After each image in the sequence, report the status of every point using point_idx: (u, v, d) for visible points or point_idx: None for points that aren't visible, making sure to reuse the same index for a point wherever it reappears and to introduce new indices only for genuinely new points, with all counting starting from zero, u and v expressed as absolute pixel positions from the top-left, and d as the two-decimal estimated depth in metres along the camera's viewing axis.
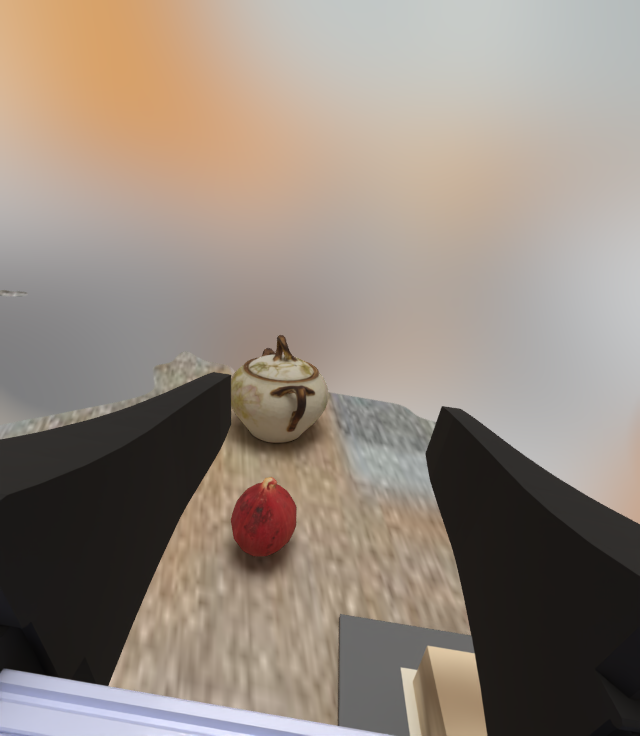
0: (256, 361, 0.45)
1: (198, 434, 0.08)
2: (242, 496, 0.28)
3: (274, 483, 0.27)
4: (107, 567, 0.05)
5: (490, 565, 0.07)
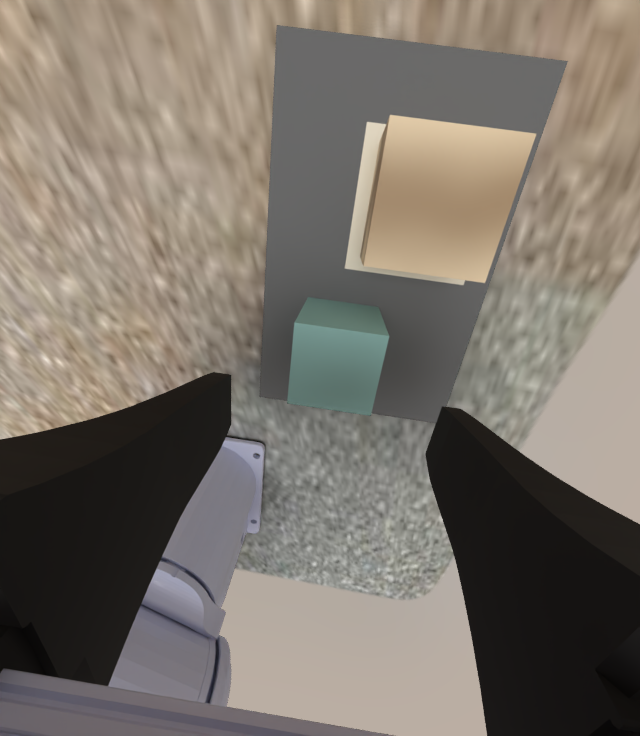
0: None
1: (198, 434, 0.08)
2: None
3: None
4: (107, 567, 0.05)
5: (490, 565, 0.07)
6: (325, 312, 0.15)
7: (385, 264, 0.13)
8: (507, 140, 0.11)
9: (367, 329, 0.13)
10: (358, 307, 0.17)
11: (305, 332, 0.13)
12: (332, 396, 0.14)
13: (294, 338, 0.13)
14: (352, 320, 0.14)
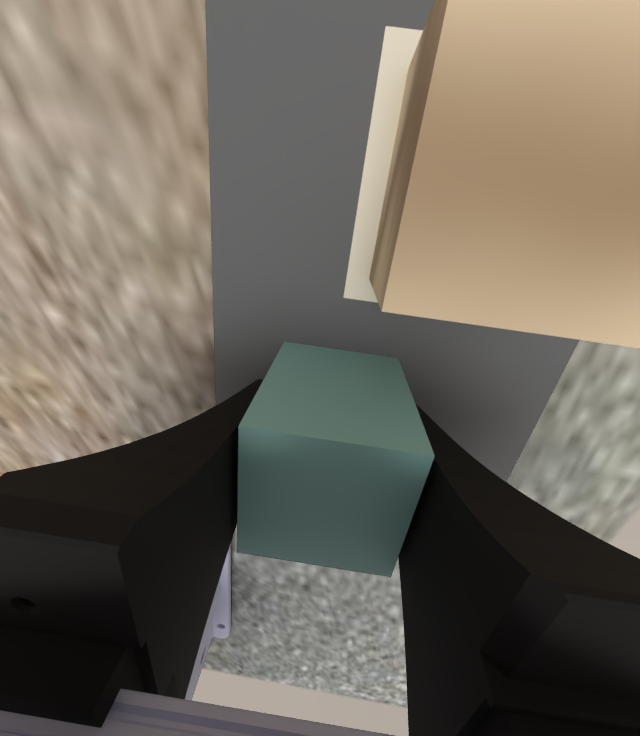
0: None
1: None
2: None
3: None
4: (192, 581, 0.05)
5: (419, 554, 0.07)
6: (309, 382, 0.08)
7: (428, 308, 0.06)
8: None
9: (387, 435, 0.07)
10: (366, 362, 0.10)
11: (261, 444, 0.06)
12: (319, 546, 0.08)
13: (241, 453, 0.07)
14: (356, 404, 0.08)
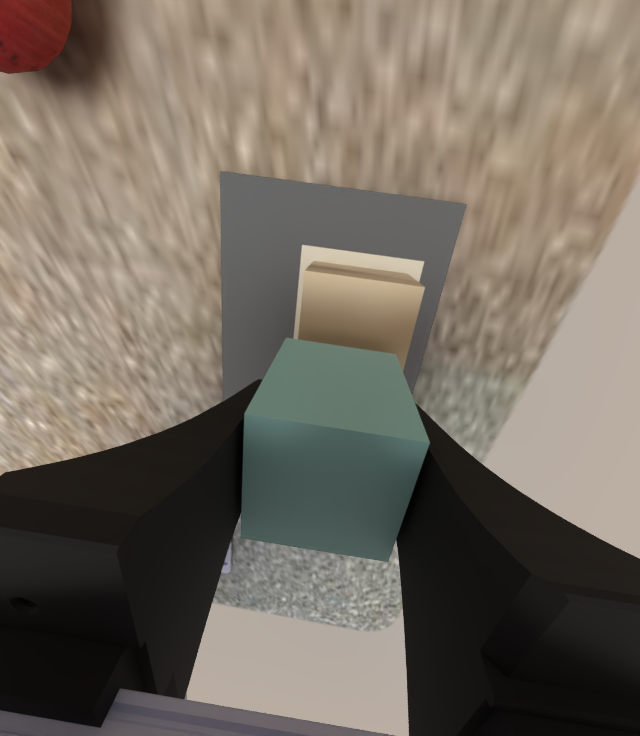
0: None
1: None
2: None
3: None
4: (191, 581, 0.05)
5: (419, 554, 0.07)
6: (310, 375, 0.09)
7: None
8: (402, 291, 0.13)
9: (385, 423, 0.07)
10: (365, 357, 0.10)
11: (265, 431, 0.07)
12: (320, 531, 0.08)
13: (246, 440, 0.07)
14: (355, 395, 0.08)
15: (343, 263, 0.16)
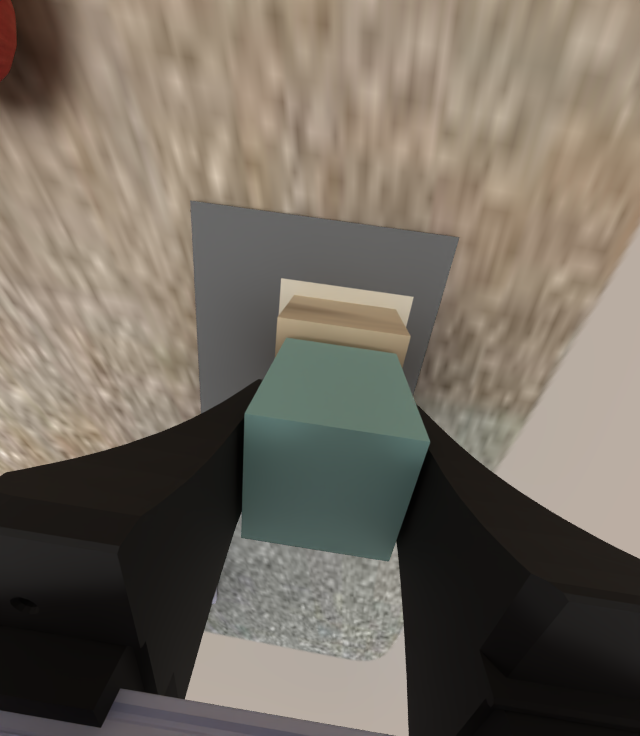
0: None
1: None
2: None
3: None
4: (192, 581, 0.05)
5: (419, 554, 0.07)
6: (310, 375, 0.09)
7: None
8: (385, 340, 0.12)
9: (385, 422, 0.07)
10: (365, 357, 0.10)
11: (266, 431, 0.07)
12: (320, 531, 0.08)
13: (246, 440, 0.07)
14: (356, 395, 0.08)
15: (326, 298, 0.15)
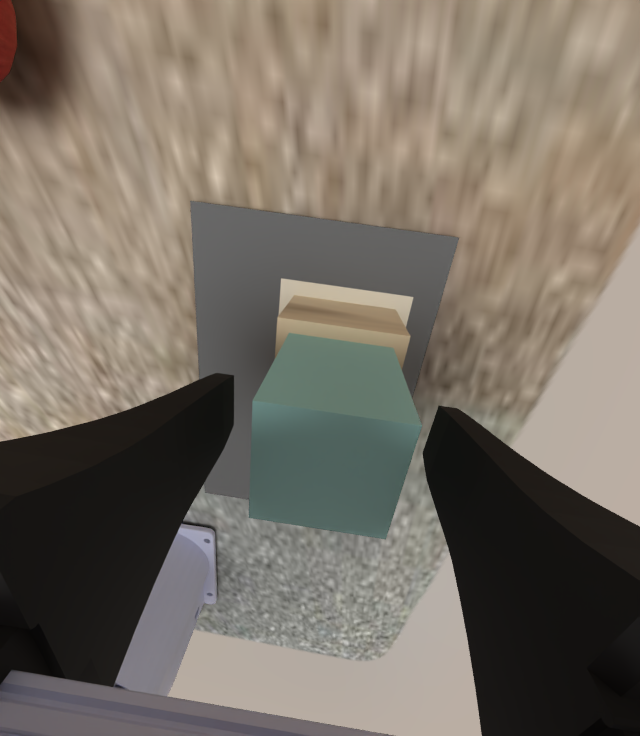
0: None
1: (201, 435, 0.08)
2: None
3: None
4: (113, 568, 0.05)
5: (485, 564, 0.07)
6: (312, 367, 0.09)
7: None
8: (385, 340, 0.12)
9: (381, 409, 0.08)
10: (364, 351, 0.11)
11: (272, 417, 0.07)
12: (322, 511, 0.09)
13: (254, 425, 0.08)
14: (354, 384, 0.09)
15: (326, 298, 0.15)
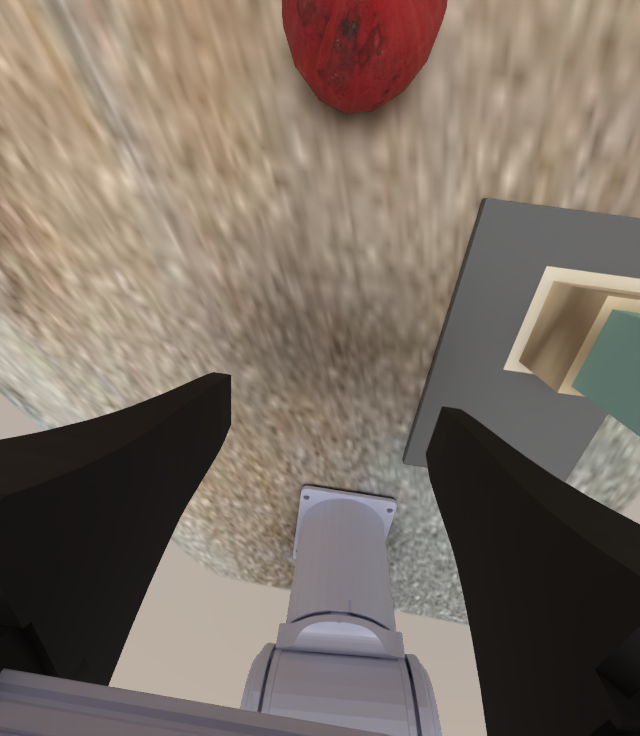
0: None
1: (197, 434, 0.08)
2: None
3: None
4: (107, 567, 0.05)
5: (490, 565, 0.07)
6: None
7: (576, 392, 0.16)
8: None
9: None
10: None
11: None
12: None
13: None
14: None
15: (582, 283, 0.17)
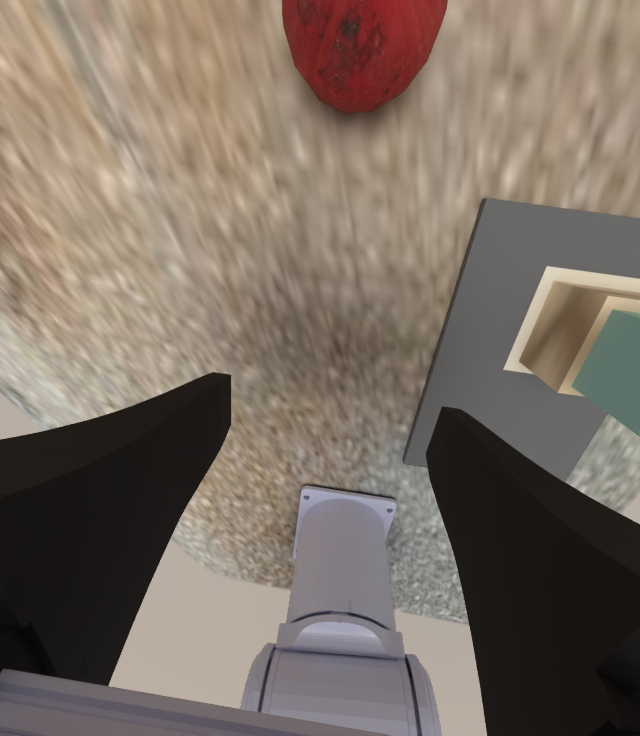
0: None
1: (198, 434, 0.08)
2: None
3: None
4: (107, 567, 0.05)
5: (490, 565, 0.07)
6: None
7: (576, 392, 0.16)
8: None
9: None
10: None
11: None
12: None
13: None
14: None
15: (582, 283, 0.17)
